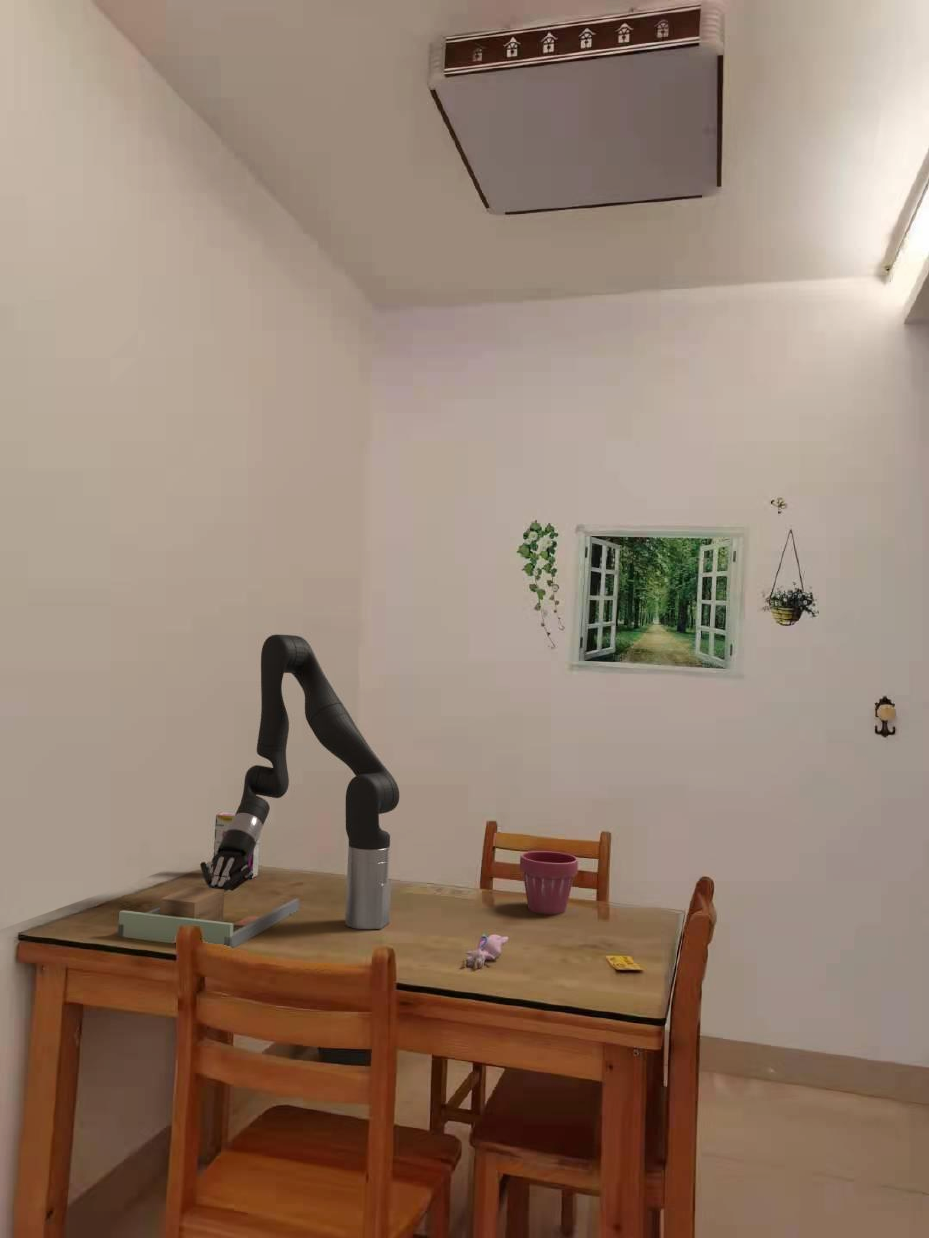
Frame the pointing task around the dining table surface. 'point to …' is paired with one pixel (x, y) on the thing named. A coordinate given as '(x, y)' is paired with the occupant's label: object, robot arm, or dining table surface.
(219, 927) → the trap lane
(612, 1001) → the dining table surface
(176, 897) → the walnut block
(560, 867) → the plant pot
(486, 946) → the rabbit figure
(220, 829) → the candy bar box
